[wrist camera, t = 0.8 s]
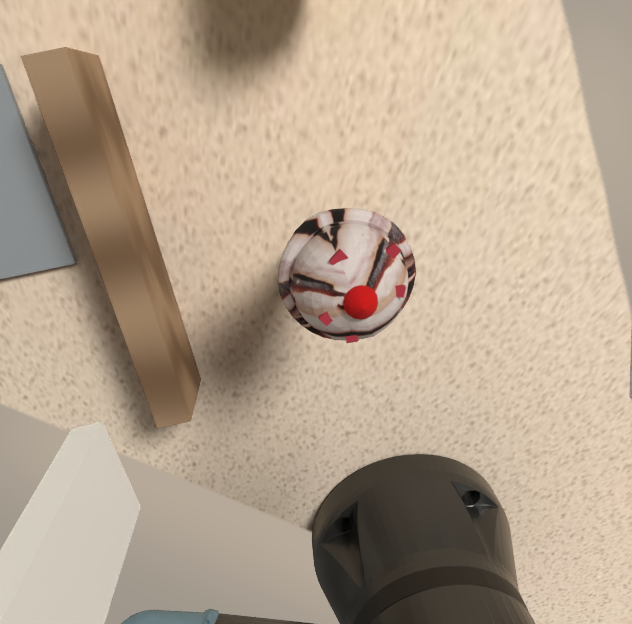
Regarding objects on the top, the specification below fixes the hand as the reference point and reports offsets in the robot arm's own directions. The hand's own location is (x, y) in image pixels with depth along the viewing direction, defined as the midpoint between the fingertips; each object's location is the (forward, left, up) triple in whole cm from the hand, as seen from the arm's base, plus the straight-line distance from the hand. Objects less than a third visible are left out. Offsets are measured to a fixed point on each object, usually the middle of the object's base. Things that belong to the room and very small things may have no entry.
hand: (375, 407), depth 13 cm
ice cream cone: (0, -1, -21) cm, 21 cm away
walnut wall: (+1, +10, -21) cm, 23 cm away
